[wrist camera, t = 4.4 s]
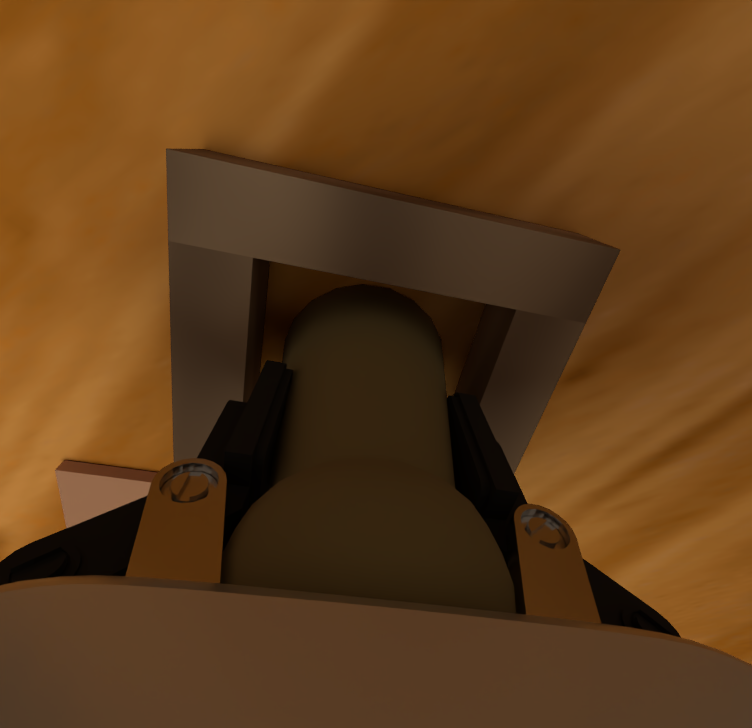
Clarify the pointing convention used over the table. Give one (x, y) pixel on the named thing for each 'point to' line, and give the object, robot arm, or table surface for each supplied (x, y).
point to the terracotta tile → (98, 489)
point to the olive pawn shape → (367, 468)
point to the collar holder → (369, 262)
